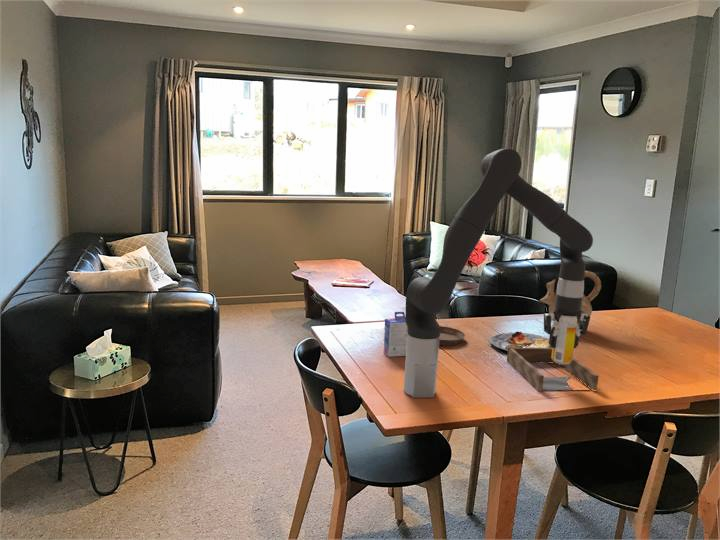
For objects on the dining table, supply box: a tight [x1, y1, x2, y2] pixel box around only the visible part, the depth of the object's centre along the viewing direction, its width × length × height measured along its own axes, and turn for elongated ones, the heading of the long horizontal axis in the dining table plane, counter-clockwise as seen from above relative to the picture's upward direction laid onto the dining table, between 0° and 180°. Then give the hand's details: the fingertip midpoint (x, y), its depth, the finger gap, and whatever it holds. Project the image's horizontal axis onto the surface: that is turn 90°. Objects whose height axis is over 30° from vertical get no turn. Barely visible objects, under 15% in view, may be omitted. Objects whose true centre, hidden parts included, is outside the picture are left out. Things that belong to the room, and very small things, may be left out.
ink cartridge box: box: [383, 311, 408, 358], centre depth 198 cm, size 10×6×14 cm, turn 109°
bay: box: [506, 347, 600, 393], centre depth 185 cm, size 25×18×5 cm
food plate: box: [488, 331, 552, 352], centre depth 212 cm, size 25×23×4 cm
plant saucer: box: [439, 325, 466, 346], centre depth 217 cm, size 18×18×3 cm
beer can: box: [551, 315, 577, 365], centre depth 176 cm, size 6×6×15 cm
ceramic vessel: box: [539, 270, 602, 327], centre depth 235 cm, size 18×19×25 cm
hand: (563, 347), depth 177 cm, fingers closed on beer can, 6 cm apart
